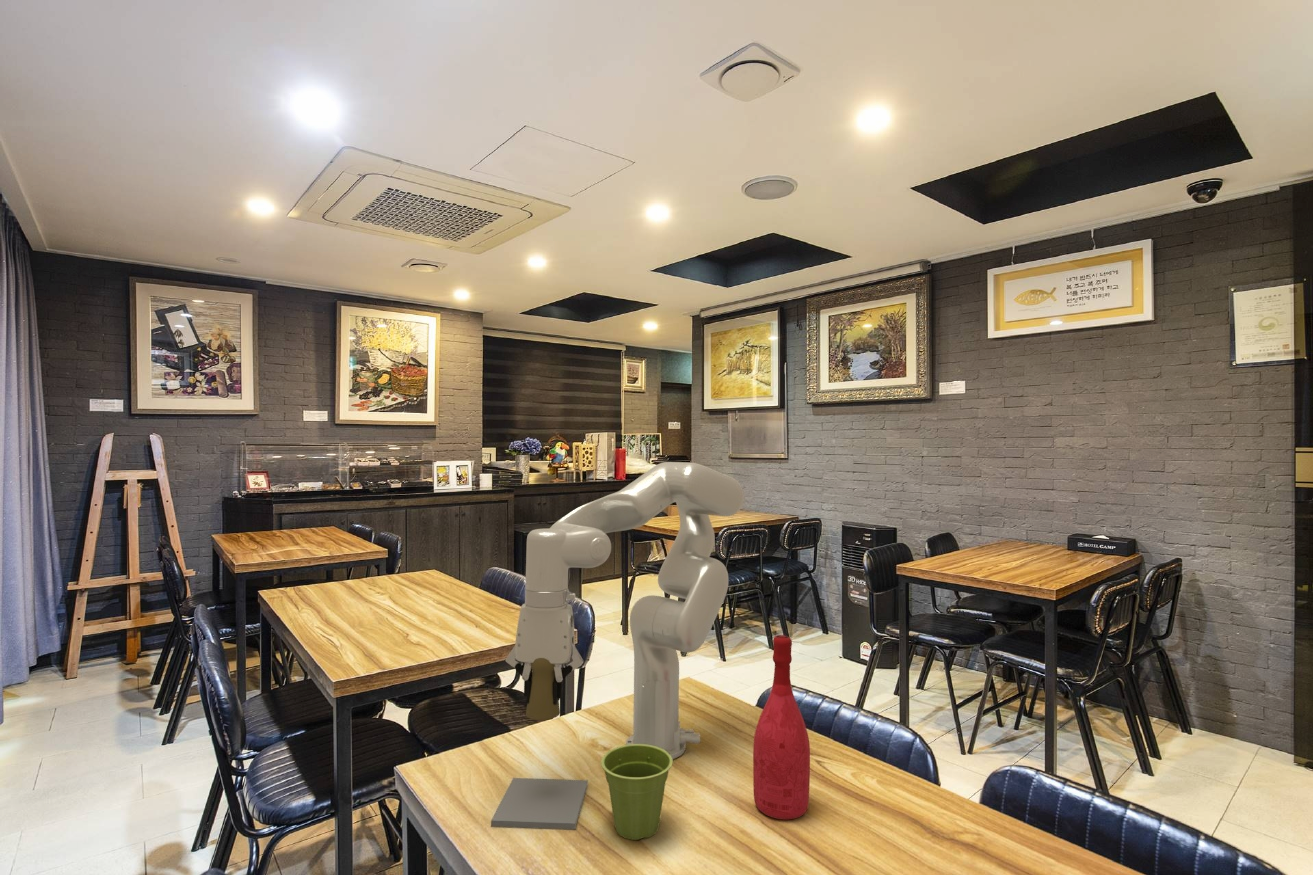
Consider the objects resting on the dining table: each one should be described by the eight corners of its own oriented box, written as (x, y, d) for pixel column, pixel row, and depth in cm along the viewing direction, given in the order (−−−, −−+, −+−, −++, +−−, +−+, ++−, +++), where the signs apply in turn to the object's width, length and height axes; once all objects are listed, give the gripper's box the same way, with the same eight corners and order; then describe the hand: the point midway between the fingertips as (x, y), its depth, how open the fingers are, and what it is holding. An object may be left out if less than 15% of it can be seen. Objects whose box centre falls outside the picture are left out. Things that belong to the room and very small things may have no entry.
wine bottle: (812, 798, 117) (813, 631, 118) (806, 827, 108) (807, 646, 108) (758, 788, 120) (759, 626, 121) (747, 816, 111) (749, 640, 112)
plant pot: (604, 807, 113) (605, 742, 114) (672, 809, 113) (672, 744, 113) (595, 849, 101) (596, 776, 102) (671, 851, 101) (672, 778, 101)
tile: (587, 785, 121) (587, 780, 121) (575, 829, 107) (575, 823, 107) (513, 783, 121) (513, 777, 121) (490, 826, 107) (491, 820, 107)
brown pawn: (552, 721, 112) (554, 657, 113) (520, 717, 114) (521, 654, 114) (564, 708, 118) (566, 647, 118) (534, 705, 120) (535, 645, 120)
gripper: (595, 595, 120) (593, 695, 119) (506, 592, 121) (503, 691, 120) (588, 604, 112) (585, 711, 112) (494, 601, 113) (490, 707, 113)
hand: (543, 700), depth 116 cm, fingers closed on brown pawn, 4 cm apart
